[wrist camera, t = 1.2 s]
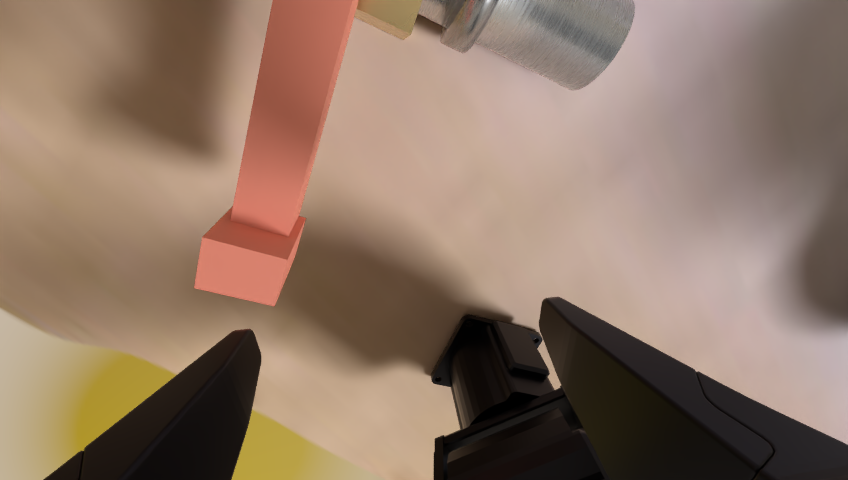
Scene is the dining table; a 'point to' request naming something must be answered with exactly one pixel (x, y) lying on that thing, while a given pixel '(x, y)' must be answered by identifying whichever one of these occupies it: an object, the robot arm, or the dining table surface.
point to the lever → (278, 151)
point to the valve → (520, 30)
